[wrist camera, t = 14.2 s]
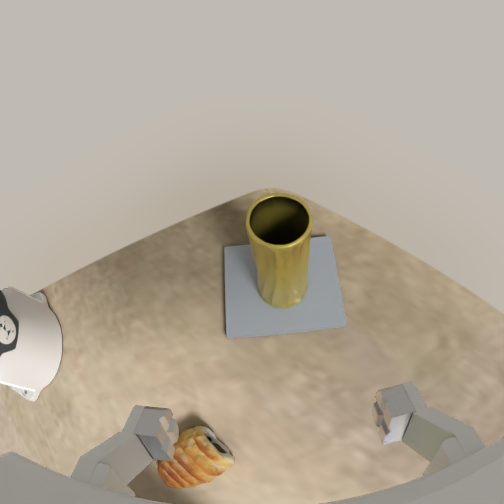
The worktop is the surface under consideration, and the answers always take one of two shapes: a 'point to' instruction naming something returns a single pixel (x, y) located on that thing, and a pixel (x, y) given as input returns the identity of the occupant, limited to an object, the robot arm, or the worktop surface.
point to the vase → (280, 247)
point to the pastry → (195, 459)
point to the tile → (282, 319)
